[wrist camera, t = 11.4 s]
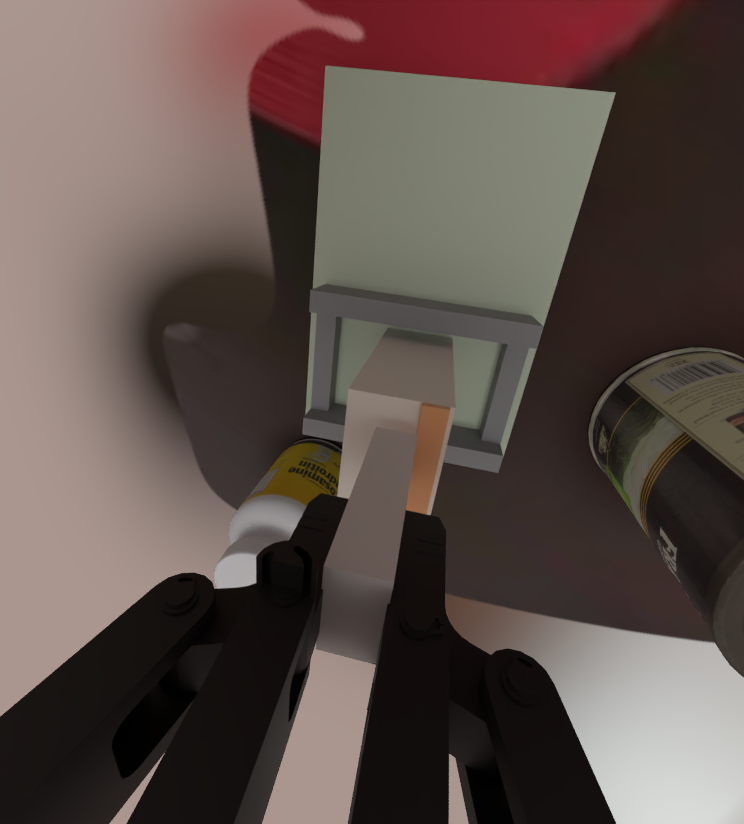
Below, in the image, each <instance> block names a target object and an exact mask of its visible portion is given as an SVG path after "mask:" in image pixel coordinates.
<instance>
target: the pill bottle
mask: <svg viewBox="0 0 744 824" xmlns="http://www.w3.org/2000/svg"><path fill="white" fill-rule="evenodd" d="M341 456H342V450H341V449H340V448H339V447H337V446H336V445H334V444H332V443H330V442H327V441H324V440H320V439H305V440H300V441H298V442H295V443H293V444H292V445H290V446H289V447H288V448H287V449H286V450H285V451H284V452H283V453H282V454H281V455H280V457H279V458H278V459H277V460H276V462H275V463H274V464H273V465H272V467H271V468H270V469H269V471H268V472H267V473H266V474H265V476H264V477H263V478H262V479H261V481H260V482H259V483H258V485H257V486H256V487H255V488H254V490H253V491H252V492H251V493H250V495H249V496H248V497H247V498H246V500H245V501H244V502H243V504H242V505H241V506H240V508H239V509H238V510H237V512H236V513H235V515H234V517H233V519H232V521H231V524H230V530H229V539H230V544H231V545H230V546H229V547H228V549H227V550H226V552H225V553H224V555H223V556H222V558H221V559H220V561H219V562H218V564H217V566H216V568H215V573H214V579H215V584H216V586H217V589H219V588H238V587H244V586H249V585H252V584H255V583H256V556H257V555H258V554H259V553H260V552H261V551H262V550H263V549H264V548H265V547H267V546H269V545H271V544H273V543H276V542H280V541H285V540H288V541H289V539H290V537H291V536H292V534H293V532H294V530H295V528H296V527H297V524H298V522H299V520H300V518H301V517H302V514H303V512H304V511H305V509H306V507H307V505H308V503H309V502H310V501H311V500H312V499H314V498H315V497H316V496H318V495H319V494H320V493H323V494H328V495H333V496H337V494H338V484H339V475H340V465H341Z"/></svg>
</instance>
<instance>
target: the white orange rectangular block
mask: <svg viewBox="0 0 744 824" xmlns="http://www.w3.org/2000/svg"><path fill="white" fill-rule="evenodd" d="M455 409H456V404H455V382H454V360H453V338H450V337H444V336H438V335H431V334H425V333H419V332H413V331H407V330H401V329H395V328H389V327H388V329H387V330H386V332H385V333H384V335H383V337H382V338H381V340H380V341H379V343H378V344H377V346H376V347H375V349H374V350H373V352H372V353H371V355H370V357H369V358H368V360H367V361H366V363H365V364H364V366H363V367H362V369H361V370H360V372H359V373H358V375H357V377H356V378H355V380H354V381H353V383H352V384H351V386H350V387H349V389H348V399H347V408H346V418H345V427H344V437H343V446H342V456H341V465H340V475H339V484H338V494H337V497H342V498H347V499H349V497H350V495H351V492H352V489H353V487H354V484H355V481H356V479H357V476H358V474H359V471H360V468H361V466H362V463H363V460H364V458H365V455H366V452H367V450H368V447H369V444H370V442H371V439H372V436H373V434H374V431H375V428H376V427H380V428H385V429H391V430H396V431H401V432H406V433H411V434H417V442H416V448H415V454H414V461H413V467H412V473H411V479H410V486H409V492H408V498H407V504H406V510H408V511H413V512H417V513H422V514H427V515H431V511H432V507H433V503H434V499H435V494H436V490H437V486H438V482H439V477H440V473H441V469H442V464H443V460H444V456H445V452H446V447H447V443H448V439H449V435H450V430H451V426H452V422H453V418H454V413H455Z"/></svg>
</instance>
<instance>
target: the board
mask: <svg viewBox="0 0 744 824" xmlns="http://www.w3.org/2000/svg"><path fill="white" fill-rule="evenodd" d="M614 96H615V93H614V92H604V91H593V90H582V89H572V88H561V87H550V86H539V85H529V84H518V83H507V82H496V81H486V80H475V79H464V78H454V77H443V76H432V75H421V74H411V73H400V72H389V71H379V70H368V69H357V68H346V67H336V66H325V83H324V100H323V118H322V135H321V153H320V170H319V188H318V205H317V223H316V240H315V258H314V275H313V289H311V290H310V306H309V312H311V328H310V345H309V363H308V380H307V398H306V415H305V416H304V418H303V435H308V436H313V437H319V438H324V439H329V440H334V441H339V442H343V437H344V427H345V418H346V408H347V399H348V389H349V387H350V386H351V384H352V383H353V381H354V380H355V378H356V377H357V375H358V373H359V372H360V370H361V369H362V367H363V366H364V364H365V363H366V361H367V360H368V358H369V357H370V355H371V353H372V352H373V350H374V349H375V347H376V346H377V344H378V343H379V341H380V340H381V338H382V337H383V335H384V333H385V332H386V330H387V329H388V327H389V328H395V329H401V330H407V331H413V332H419V333H425V334H431V335H438V336H444V337H450V338H453V360H454V382H455V404H456V409H455V413H454V418H453V422H452V426H451V430H450V435H449V439H448V443H447V447H446V452H445V456H444V460H443V462H446V463H451V464H456V465H461V466H466V467H471V468H476V469H481V470H486V471H491V472H496V473H498V472H499V468H500V465H501V462H502V459H503V456H504V453H505V450H506V447H507V443H508V440H509V437H510V434H511V430H512V427H513V424H514V421H515V417H516V414H517V411H518V408H519V404H520V401H521V398H522V395H523V391H524V388H525V385H526V382H527V379H528V375H529V372H530V369H531V366H532V362H533V359H534V356H535V353H536V349H537V346H538V343H539V340H540V336H541V333H542V330H543V327H544V323H545V320H546V317H547V314H548V310H549V307H550V304H551V301H552V297H553V294H554V291H555V288H556V285H557V281H558V278H559V275H560V272H561V268H562V265H563V262H564V259H565V255H566V252H567V249H568V246H569V242H570V239H571V236H572V233H573V229H574V226H575V223H576V220H577V216H578V213H579V210H580V207H581V203H582V200H583V197H584V194H585V190H586V187H587V184H588V181H589V178H590V174H591V171H592V168H593V165H594V161H595V158H596V155H597V152H598V148H599V145H600V142H601V139H602V135H603V132H604V129H605V126H606V122H607V119H608V116H609V113H610V109H611V106H612V103H613V100H614Z"/></svg>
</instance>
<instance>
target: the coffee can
mask: <svg viewBox="0 0 744 824" xmlns="http://www.w3.org/2000/svg"><path fill="white" fill-rule="evenodd" d="M588 437H589V445H590V449H591V452H592V455H593V457H594V459H595V461H596V462H597V464H598V465H599V467H600V468H601V469H602V471H603V472H604V473H605V474H606V475H607V477H608V478H609V479H610V481H611V482H612V484H613V485H614V487H615V488H616V490H617V491H618V493H619V494H620V496H621V497H622V498H623V500H624V501H625V503H626V504H627V506H628V507H629V509H630V510H631V512H632V513H633V515H634V516H635V518H636V519H637V521H638V522H639V524H640V525H641V527H642V528H643V530H644V531H645V533H646V534H647V536H648V537H649V539H650V540H651V542H652V543H653V545H654V546H655V548H656V549H657V551H658V552H659V554H660V555H661V557H662V558H663V560H664V561H665V563H666V564H667V566H668V567H669V569H670V570H671V572H672V573H673V575H674V577H675V578H676V580H677V581H678V582H679V584H680V585H681V586H682V588H683V589H684V591H685V593H686V594H687V596H688V597H689V599H690V600H691V601H692V603H693V605H694V606H695V607H696V609H697V610H698V612H699V613H700V614H701V616H702V617H703V619H704V620H705V622H706V623H707V626H708V629H709V632H710V634H711V636H712V638H713V640H714V641H715V643H716V645H717V647H718V648H719V650H720V651H721V653H722V654H723V656H724V657H725V659H726V660H727V661H728V663H729V664H730V665H731V666H732V667H733V668H734V669H735V670H736V671H737V672H738V673H739V674H740V675H742V676H743V677H744V358H742V357H740V356H738V355H736V354H734V353H731V352H728V351H724V350H720V349H713V348H702V347H700V348H695V347H690V348H684V349H678V350H673V351H669V352H665V353H662V354H659V355H656V356H653V357H651V358H648V359H646V360H644V361H642V362H640V363H638V364H636V365H635V366H633V367H631V368H630V369H629V370H627V371H626V372H624V373H623V374H621V375H620V376H619V377H618V378H617V379H616V380H615V381H614V382H613V383H612V384H611V385H610V386H609V387H608V388H607V389H606V391H605V392H604V393H603V394H602V396H601V397H600V399H599V400H598V402H597V404H596V406H595V408H594V410H593V413H592V416H591V419H590V424H589V430H588Z"/></svg>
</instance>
